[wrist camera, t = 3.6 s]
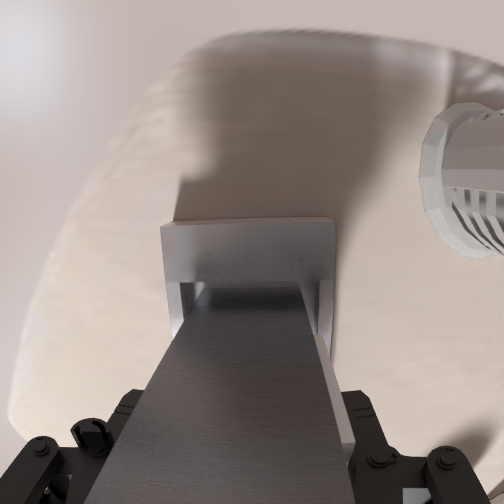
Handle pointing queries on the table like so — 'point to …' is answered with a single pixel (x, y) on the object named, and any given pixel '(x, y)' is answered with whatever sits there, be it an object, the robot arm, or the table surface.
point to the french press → (465, 179)
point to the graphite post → (233, 412)
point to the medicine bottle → (498, 499)
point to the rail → (251, 261)
